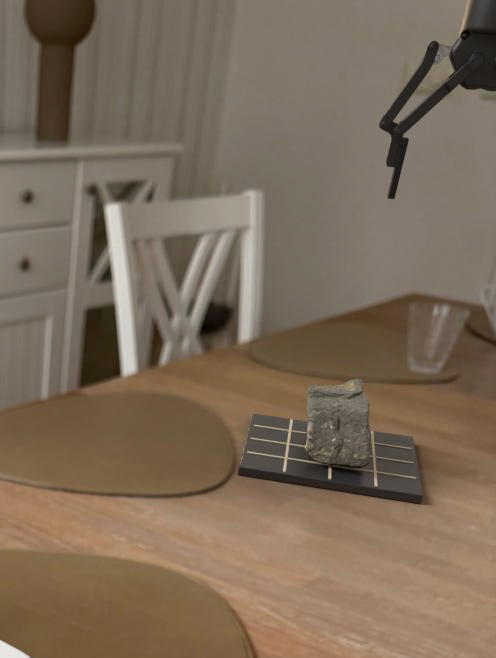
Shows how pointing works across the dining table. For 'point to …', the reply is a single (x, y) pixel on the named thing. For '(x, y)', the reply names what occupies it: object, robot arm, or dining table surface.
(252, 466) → the board
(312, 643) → the dining table surface
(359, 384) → the rock
